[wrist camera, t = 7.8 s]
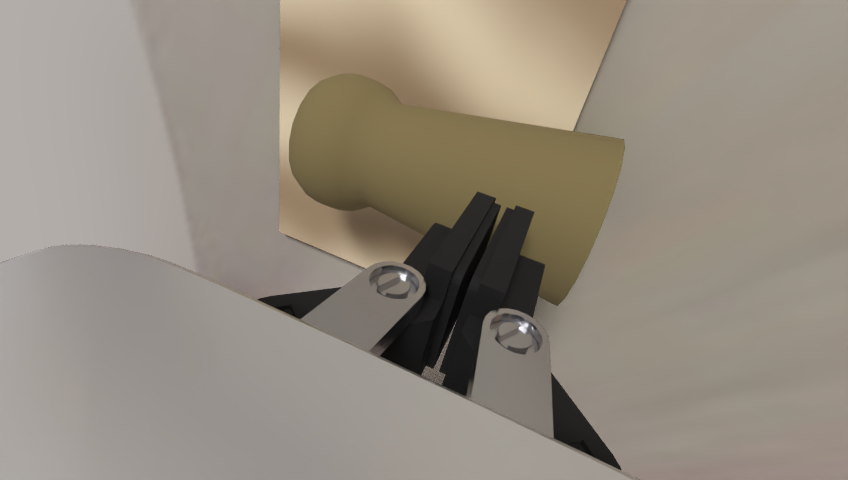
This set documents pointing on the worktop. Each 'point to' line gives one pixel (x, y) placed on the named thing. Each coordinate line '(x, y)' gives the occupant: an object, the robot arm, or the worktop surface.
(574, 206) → the pepper shaker
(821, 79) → the worktop surface
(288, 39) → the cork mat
